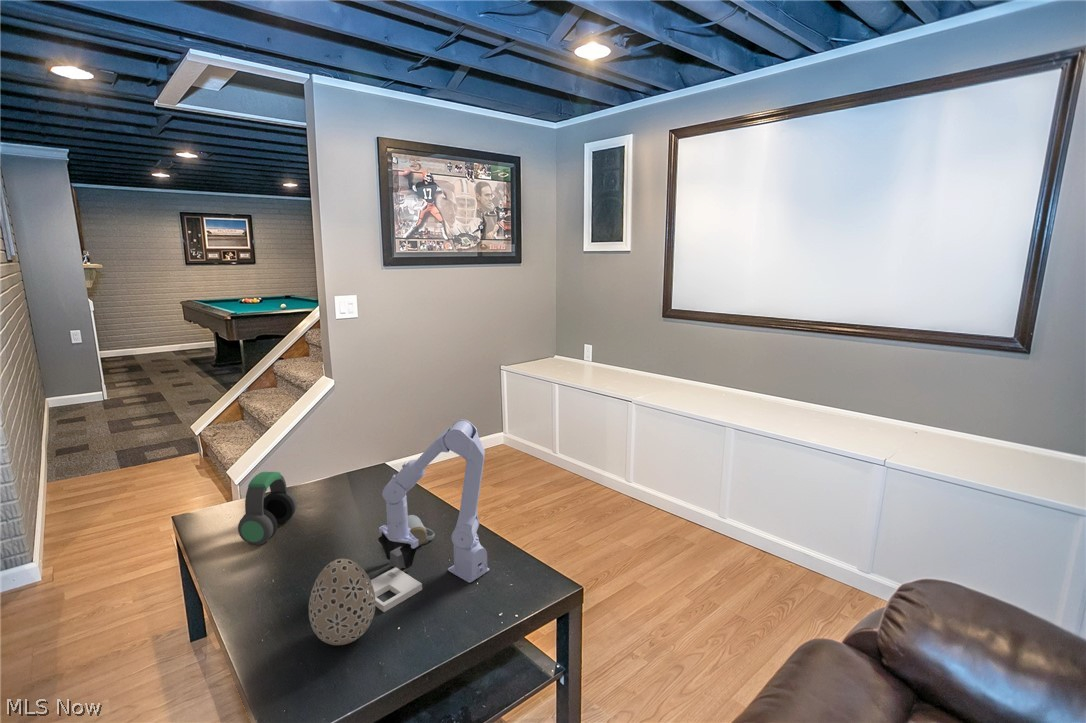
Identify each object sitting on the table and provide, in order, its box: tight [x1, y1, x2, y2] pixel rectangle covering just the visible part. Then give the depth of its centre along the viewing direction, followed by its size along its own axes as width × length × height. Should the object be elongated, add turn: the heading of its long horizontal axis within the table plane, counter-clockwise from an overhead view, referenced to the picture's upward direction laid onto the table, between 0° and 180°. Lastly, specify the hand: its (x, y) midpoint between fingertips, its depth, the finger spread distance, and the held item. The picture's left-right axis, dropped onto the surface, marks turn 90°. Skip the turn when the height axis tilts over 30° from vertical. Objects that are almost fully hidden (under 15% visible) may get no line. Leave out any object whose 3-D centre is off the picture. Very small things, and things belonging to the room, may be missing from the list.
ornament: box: [308, 558, 376, 646], centre depth 123 cm, size 15×15×20 cm
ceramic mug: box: [408, 514, 436, 546], centre depth 166 cm, size 11×8×8 cm
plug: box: [389, 546, 406, 570], centre depth 153 cm, size 4×4×5 cm
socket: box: [367, 567, 423, 613], centre depth 142 cm, size 12×12×2 cm
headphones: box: [237, 471, 298, 546], centre depth 170 cm, size 19×11×20 cm, turn 179°
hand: (399, 562), depth 153 cm, fingers open, 7 cm apart
